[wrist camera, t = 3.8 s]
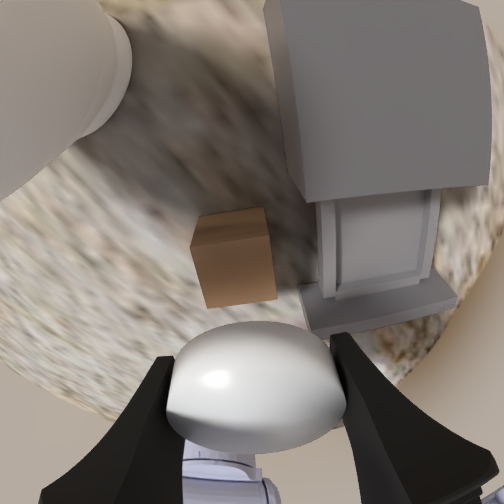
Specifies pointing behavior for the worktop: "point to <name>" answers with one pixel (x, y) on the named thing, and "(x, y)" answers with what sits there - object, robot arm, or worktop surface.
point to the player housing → (381, 95)
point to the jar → (55, 80)
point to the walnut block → (234, 258)
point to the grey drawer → (375, 263)
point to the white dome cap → (254, 388)
